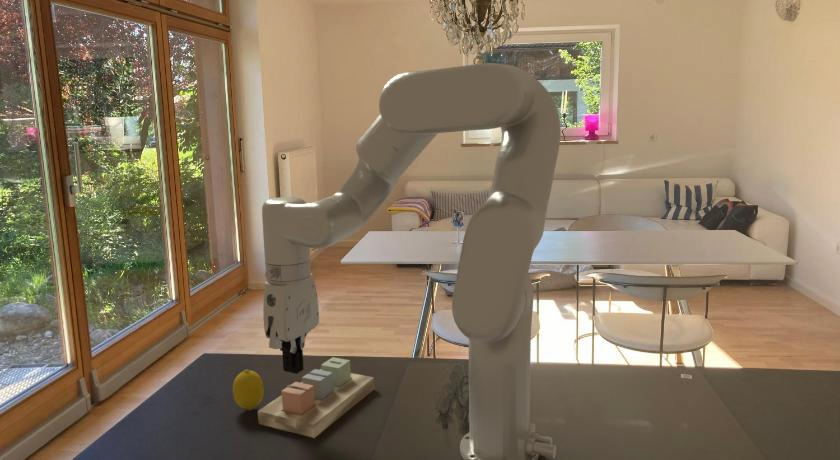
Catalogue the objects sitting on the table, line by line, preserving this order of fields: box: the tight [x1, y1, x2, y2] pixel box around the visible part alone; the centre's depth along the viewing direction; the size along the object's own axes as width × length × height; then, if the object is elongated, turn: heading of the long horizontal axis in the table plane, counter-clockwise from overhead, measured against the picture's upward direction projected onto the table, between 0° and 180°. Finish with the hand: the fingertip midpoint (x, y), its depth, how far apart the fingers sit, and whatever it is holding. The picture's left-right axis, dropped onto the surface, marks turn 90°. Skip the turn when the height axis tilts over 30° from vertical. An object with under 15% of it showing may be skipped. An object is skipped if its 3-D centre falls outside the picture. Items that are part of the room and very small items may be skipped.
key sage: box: [320, 356, 352, 387], centre depth 124 cm, size 4×4×4 cm
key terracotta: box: [280, 381, 315, 416], centre depth 113 cm, size 5×4×4 cm
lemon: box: [232, 369, 265, 411], centre depth 118 cm, size 6×6×8 cm
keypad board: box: [257, 368, 375, 439], centre depth 119 cm, size 12×20×2 cm, turn 153°
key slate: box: [301, 368, 334, 401], centre depth 119 cm, size 4×4×4 cm
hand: (293, 370), depth 112 cm, fingers closed
